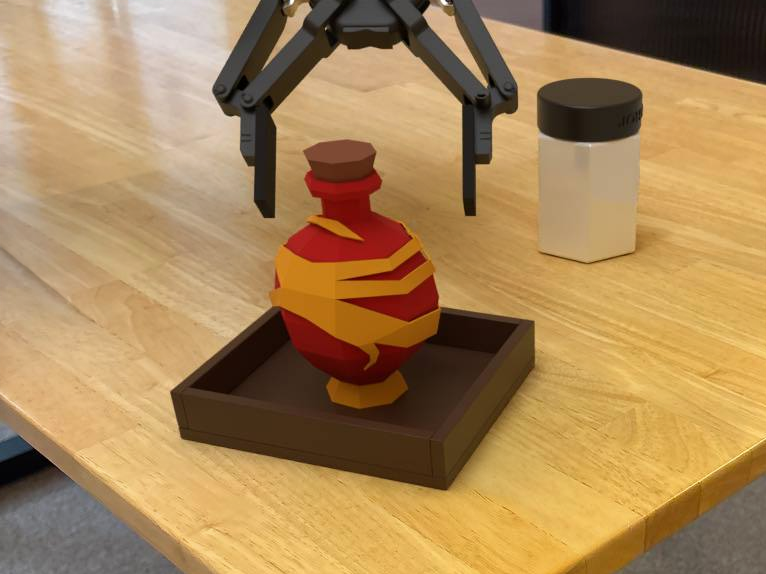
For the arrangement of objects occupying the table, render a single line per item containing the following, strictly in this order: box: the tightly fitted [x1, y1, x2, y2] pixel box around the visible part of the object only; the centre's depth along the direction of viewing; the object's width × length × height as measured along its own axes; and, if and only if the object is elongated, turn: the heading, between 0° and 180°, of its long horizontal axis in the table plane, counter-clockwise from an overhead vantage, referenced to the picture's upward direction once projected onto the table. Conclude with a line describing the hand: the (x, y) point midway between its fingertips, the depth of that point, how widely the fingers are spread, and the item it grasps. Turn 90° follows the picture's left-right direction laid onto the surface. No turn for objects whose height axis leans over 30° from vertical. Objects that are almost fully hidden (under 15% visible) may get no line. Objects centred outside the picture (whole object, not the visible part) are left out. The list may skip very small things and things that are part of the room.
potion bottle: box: [268, 138, 441, 409], centre depth 65 cm, size 10×10×15 cm
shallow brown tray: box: [169, 306, 536, 491], centre depth 69 cm, size 18×16×3 cm
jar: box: [536, 77, 644, 264], centre depth 86 cm, size 9×8×12 cm
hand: (367, 209), depth 72 cm, fingers open, 13 cm apart
